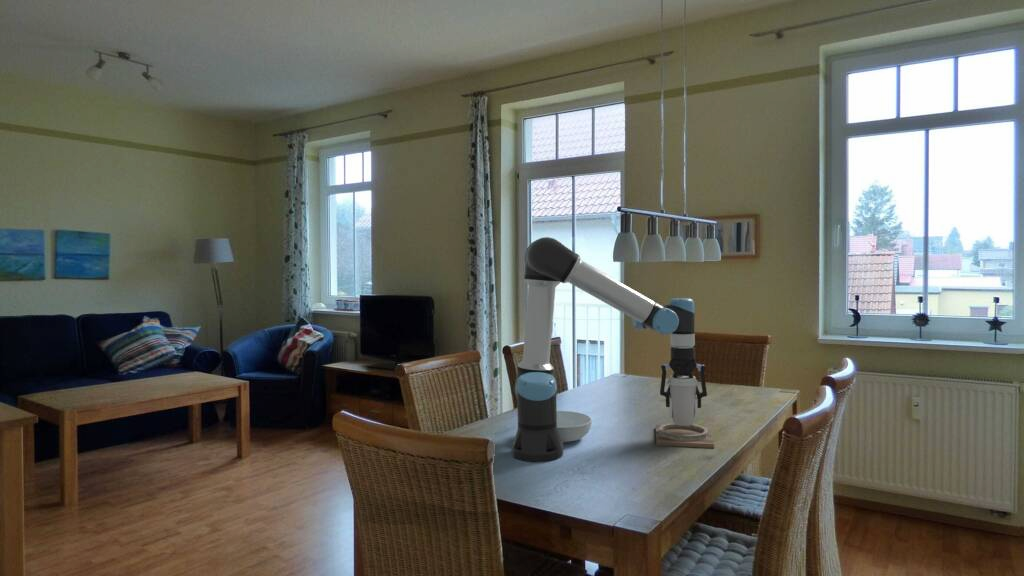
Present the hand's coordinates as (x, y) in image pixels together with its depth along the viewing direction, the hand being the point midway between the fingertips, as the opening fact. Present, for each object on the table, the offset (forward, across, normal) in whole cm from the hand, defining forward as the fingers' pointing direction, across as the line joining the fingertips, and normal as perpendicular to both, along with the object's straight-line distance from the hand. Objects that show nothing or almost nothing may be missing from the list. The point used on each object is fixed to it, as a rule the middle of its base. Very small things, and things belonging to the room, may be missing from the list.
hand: (683, 417), depth 194 cm
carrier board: (+6, 0, 0) cm, 6 cm away
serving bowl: (+7, +39, +8) cm, 40 cm away
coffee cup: (+2, 0, 0) cm, 2 cm away
